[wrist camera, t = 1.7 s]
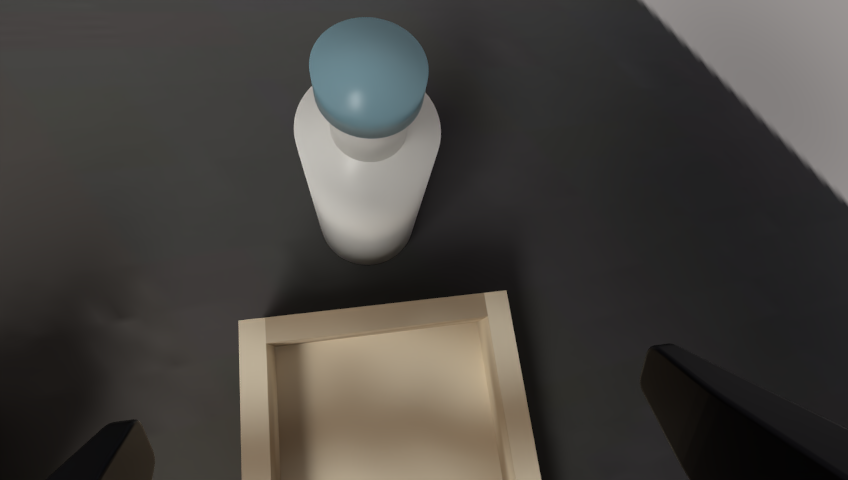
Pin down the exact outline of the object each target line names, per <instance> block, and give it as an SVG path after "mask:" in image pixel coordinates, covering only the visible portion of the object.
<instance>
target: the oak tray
mask: <svg viewBox="0 0 848 480" xmlns="http://www.w3.org/2000/svg"><path fill="white" fill-rule="evenodd" d="M239 366H240V413H241V461H242V480H541V475H540V470H539V464H538V459H537V453H536V448H535V443H534V437H533V432H532V426H531V421H530V416H529V410H528V405H527V399H526V394H525V388H524V383H523V378H522V372H521V367H520V361H519V356H518V350H517V345H516V340H515V334H514V329H513V323H512V318H511V312H510V307H509V302H508V296H507V291H506V290H505V291H496V292H487V293H478V294H469V295H460V296H452V297H443V298H434V299H425V300H416V301H408V302H399V303H390V304H381V305H372V306H363V307H355V308H346V309H337V310H328V311H319V312H310V313H302V314H293V315H284V316H275V317H266V318H258V319H249V320H240V321H239Z"/></svg>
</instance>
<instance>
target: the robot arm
mask: <svg viewBox="0 0 848 480" xmlns="http://www.w3.org/2000/svg"><path fill="white" fill-rule="evenodd" d="M640 385H641V388H642V391H643V393H644V395H645V397H646V399H647V401H648V403H649V405H650V407H651V409H652V411H653V413H654V415H655V417H656V418H657V420H658V422H659V424H660V426H661V428H662V430H663V432H664V434H665V436H666V438H667V440H668V442H669V444H670V446H671V448H672V450H673V452H674V453H675V455H676V457H677V459H678V461H679V462H680V464H681V466H682V468H683V469H684V471H685V473H686V474H687V476H688V478H689V479H690V480H848V429H846V428H844V427H842V426H840V425H838V424H836V423H834V422H832V421H830V420H828V419H826V418H824V417H822V416H820V415H818V414H816V413H814V412H812V411H810V410H808V409H805V408H803V407H801V406H799V405H797V404H795V403H793V402H791V401H789V400H787V399H785V398H783V397H781V396H779V395H777V394H775V393H773V392H771V391H769V390H767V389H765V388H762V387H760V386H758V385H756V384H754V383H752V382H750V381H748V380H746V379H744V378H742V377H740V376H738V375H736V374H734V373H732V372H730V371H728V370H726V369H724V368H722V367H719V366H717V365H715V364H713V363H711V362H709V361H707V360H705V359H703V358H701V357H699V356H697V355H695V354H693V353H691V352H689V351H687V350H685V349H683V348H681V347H679V346H676V345H674V344H662V345H654V346H651V347H650V348H649V349H648V351H647V354H646V358H645V361H644V365H643V368H642V372H641V375H640ZM154 464H155V457H154V452H153V450H152V447H151V445H150V442H149V440H148V438H147V435H146V433H145V431H144V428H143V426H142V424H141V423H140V422H139V421H138V420H134V419H133V420H126V421H119V422H113V423H110V424H108V425H106V426H105V427H104V428H102V429H101V430H100V431H99V432H98V433H97V434H96V435H95V436H93V437H92V438H91V439H90V440H89V441H88V442H87V443H86V444H85V445H83V446H82V447H81V448H80V449H79V450H78V451H77V452H76V453H75V454H74V455H72V456H71V457H70V458H69V459H68V460H67V461H66V462H65V463H64V464H62V465H61V466H60V467H59V468H58V469H57V470H56V471H55V472H54V473H52V474H51V475H50V476H49V477H48V478H47V479H46V480H152V476H153V471H154Z"/></svg>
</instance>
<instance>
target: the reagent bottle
mask: <svg viewBox="0 0 848 480" xmlns="http://www.w3.org/2000/svg"><path fill="white" fill-rule="evenodd" d="M309 70H310V76H311V82H312V86H311V87H310V88H309V90H308V91H307V92H306V93H305V95H304V96H303V98H302V100H301V101H300V103H299V106H298V108H297V111H296V115H295V120H294V137H295V141H296V146H297V149H298V152H299V156H300V159H301V163H302V166H303V169H304V173H305V176H306V180H307V183H308V186H309V190H310V193H311V196H312V200H313V203H314V207H315V210H316V213H317V217H318V220H319V224H320V227H321V230H322V234H323V236H324V239H325V241H326V243H327V244H328V246H329V247H330V248H331V249H332V250H333V252H334V253H336V254H337V255H338V256H339V257H341V258H343V259H344V260H346V261H349V262H351V263H355V264H360V265H375V264H380V263H383V262H386V261H388V260H390V259H392V258H393V257H395V256H396V255H397V254H398V253H400V252H401V251H402V249H403V248H404V247H405V246H406V244H407V243H408V241H409V238H410V236H411V233H412V230H413V227H414V224H415V221H416V218H417V215H418V211H419V208H420V205H421V202H422V199H423V196H424V193H425V190H426V187H427V184H428V180H429V177H430V174H431V171H432V168H433V165H434V162H435V159H436V156H437V153H438V149H439V146H440V139H441V126H440V120H439V116H438V113H437V110H436V108H435V106H434V104H433V102H432V101H431V99H430V98H429V96H428V95H427V94H426V93H425V90H426V85H427V81H428V74H429V67H428V61H427V58H426V55H425V52H424V50H423V48H422V47H421V45H420V44H419V42H418V41H417V40H416V39H415V38H414V37H413V36H412V35H411V34H410V33H409V32H408V31H406V30H405V29H404V28H402V27H400V26H398V25H397V24H394V23H392V22H389V21H386V20H383V19H378V18H370V17H360V18H352V19H348V20H345V21H342V22H339V23H337V24H335V25H333V26H332V27H330V28H329V29H327V30H326V31H325V32H324V33H323V34H322V35H321V36H320V37H319V38H318V39H317V41H316V43H315V44H314V46H313V49H312V51H311V55H310V60H309Z"/></svg>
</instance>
